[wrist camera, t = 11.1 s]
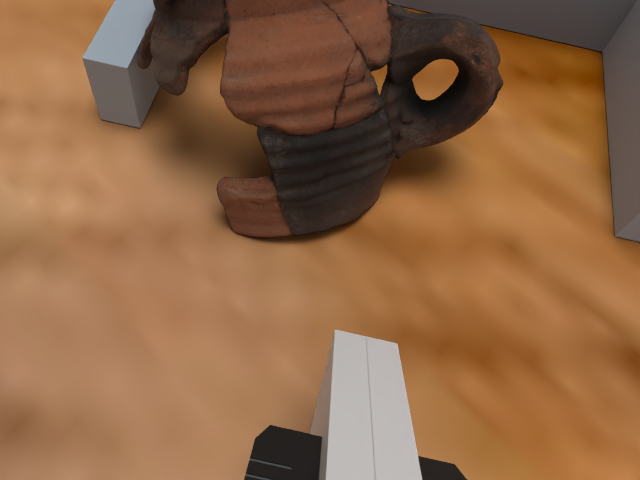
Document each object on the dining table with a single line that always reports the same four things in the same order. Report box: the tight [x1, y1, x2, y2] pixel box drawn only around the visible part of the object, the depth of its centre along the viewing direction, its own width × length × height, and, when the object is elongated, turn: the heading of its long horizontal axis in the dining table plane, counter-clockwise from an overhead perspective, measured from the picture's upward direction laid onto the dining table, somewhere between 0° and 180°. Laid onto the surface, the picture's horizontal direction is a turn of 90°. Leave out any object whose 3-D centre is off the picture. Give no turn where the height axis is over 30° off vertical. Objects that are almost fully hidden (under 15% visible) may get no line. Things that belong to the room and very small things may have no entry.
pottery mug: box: [138, 0, 503, 237], centre depth 21 cm, size 12×10×8 cm
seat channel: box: [83, 0, 640, 242], centre depth 23 cm, size 12×21×5 cm, turn 79°
